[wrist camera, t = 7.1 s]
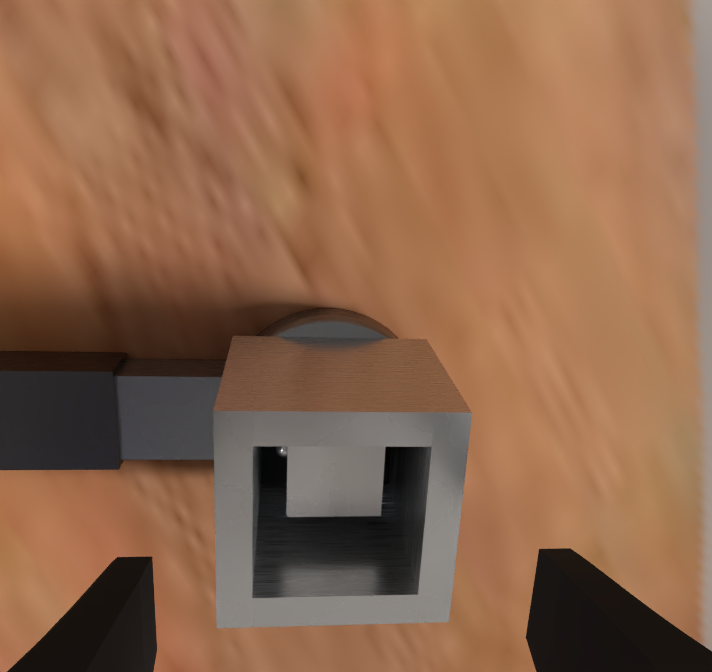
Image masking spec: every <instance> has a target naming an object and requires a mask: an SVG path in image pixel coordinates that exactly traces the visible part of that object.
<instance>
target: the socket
mask: <svg viewBox="0 0 712 672" xmlns="http://www.w3.org/2000/svg"><path fill="white" fill-rule="evenodd" d="M471 418H472V412H471V410H470V409H469V407H468V405H467V404H466V402H465V401H464V399H463V397H462V396H461V394H460V392H459V391H458V389H457V388H456V386H455V384H454V383H453V381H452V380H451V378H450V376H449V375H448V373H447V372H446V370H445V368H444V367H443V365H442V363H441V362H440V360H439V359H438V357H437V355H436V354H435V352H434V351H433V349H432V347H431V346H430V344H429V343H428V341H427V339H385V338H330V337H276V336H233V337H232V341H231V345H230V349H229V352H228V356H227V360H226V364H225V368H224V371H223V375H222V379H221V383H220V387H219V391H218V394H217V398H216V402H215V406H214V410H213V432H214V493H215V553H216V614H217V628H243V627H281V626H318V625H356V624H393V623H431V622H449V615H450V606H451V597H452V588H453V579H454V570H455V561H456V552H457V543H458V534H459V525H460V516H461V507H462V498H463V489H464V480H465V471H466V462H467V453H468V445H469V436H470V427H471ZM261 446H328V447H391V450H390V463H389V477H388V483H383V492H382V507H381V516H335V517H286V502H287V484H261Z"/></svg>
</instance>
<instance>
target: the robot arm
mask: <svg viewBox="0 0 712 672" xmlns="http://www.w3.org/2000/svg"><path fill="white" fill-rule="evenodd" d="M526 639H527V642H528V645H529V649H530V652H531V655H532V658H533V662H534V665H535V668H536V671H537V672H712V651H710V650H709V649H707V648H706V647H704V646H703V645H701V644H700V643H698V642H697V641H695V640H694V639H692V638H691V637H690V636H688V635H687V634H685V633H684V632H682V631H681V630H679V629H678V628H677V627H675V626H674V625H672V624H671V623H669V622H668V621H667V620H665V619H664V618H663V617H661V616H660V615H658V614H657V613H656V612H654V611H653V610H652V609H650V608H649V607H648V606H646V605H645V604H644V603H642V602H641V601H640V600H638V599H637V598H636V597H634V596H633V595H632V594H630V593H629V592H628V591H626V590H625V589H624V588H622V587H621V586H620V585H619V584H617V583H616V582H615V581H613V580H612V579H611V578H609V577H608V576H607V575H606V574H604V573H603V572H602V571H600V570H599V569H598V568H596V567H595V566H594V565H592V564H591V563H590V562H588V561H587V560H586V559H584V558H583V557H582V556H580V555H579V554H577V553H576V552H574V551H573V550H572V549H570V548H569V549H539V554H538V561H537V567H536V574H535V581H534V587H533V594H532V601H531V607H530V614H529V621H528V627H527V634H526ZM156 652H157V641H156V622H155V603H154V584H153V565H152V557H117V558H116V559H115V560H114V561H113V562H112V563H111V564H110V565H109V566H108V567H107V568H106V569H105V570H104V571H103V573H102V574H101V575H100V576H99V577H98V578H97V579H96V581H95V582H94V583H93V584H92V585H91V586H90V587H89V588H88V590H87V591H86V592H85V593H84V594H83V595H82V596H81V597H80V598H79V600H78V601H77V602H76V603H75V604H74V605H73V606H72V607H71V608H70V609H69V611H68V612H67V613H66V614H65V615H64V616H63V617H62V618H61V619H60V620H59V621H58V622H57V623H56V624H55V625H54V626H53V627H52V628H51V629H50V630H49V631H48V632H47V634H46V635H45V636H44V637H43V638H42V639H41V640H40V641H39V642H38V643H37V644H36V645H35V646H34V647H33V648H32V649H31V650H29V651H28V652H27V653H26V654H25V655H24V656H23V657H22V658H21V659H20V660H19V661H18V662H17V663H16V664H15V665H14V666H13V667H12V668H11V669H9V670H8V671H7V672H153V670H154V664H155V658H156Z"/></svg>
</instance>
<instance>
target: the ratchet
mask: <svg viewBox="0 0 712 672" xmlns="http://www.w3.org/2000/svg"><path fill="white" fill-rule="evenodd" d="M257 336H276V337H330V338H385V339H399V338H398V337H397V336H396V335H395V334H394V333H393V332H391V331H390V330H389V329H388V328H387V327H385V326H384V325H382V324H381V323H379V322H378V321H376V320H374V319H372V318H370V317H368V316H365V315H362V314H360V313H357V312H353V311H349V310H344V309H334V308H321V309H312V310H306V311H301V312H298V313H295V314H292V315H289V316H287V317H285V318H282V319H280V320H278V321H277V322H275V323H273V324H272V325H270V326H268V327H267V328H266V329H265V330H263V331H262V332H261V333H260V334H258V335H257ZM225 364H226V360H164V359H126V353H111V352H35V351H0V470H109V469H120V467H121V464H122V462H123V460H214V432H213V410H214V406H215V402H216V398H217V394H218V391H219V387H220V383H221V379H222V375H223V371H224V368H225ZM390 450H391V447H328V446H261V484H287V502H286V517H335V516H381V507H382V492H383V483H388V477H389V463H390Z"/></svg>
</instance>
